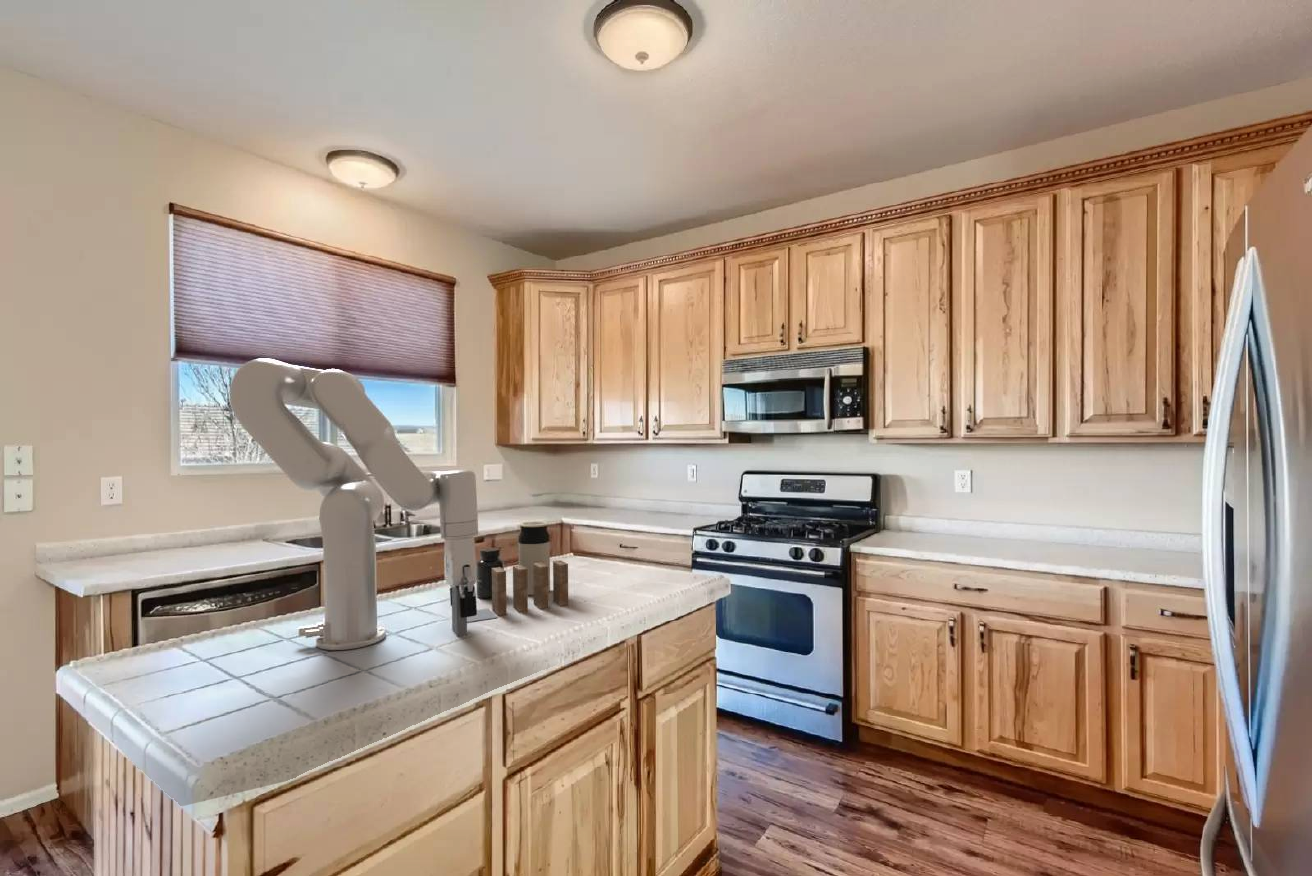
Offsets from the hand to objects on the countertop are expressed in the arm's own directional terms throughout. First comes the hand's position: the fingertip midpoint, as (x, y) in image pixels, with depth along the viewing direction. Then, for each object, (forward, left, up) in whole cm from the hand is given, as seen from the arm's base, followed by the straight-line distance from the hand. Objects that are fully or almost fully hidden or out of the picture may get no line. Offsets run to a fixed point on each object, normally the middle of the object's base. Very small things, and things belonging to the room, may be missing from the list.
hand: (463, 610), depth 131 cm
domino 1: (-1, 0, -5) cm, 5 cm away
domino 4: (+20, +10, -5) cm, 23 cm away
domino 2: (+10, +10, -5) cm, 15 cm away
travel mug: (+23, +24, -5) cm, 34 cm away
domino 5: (+25, +10, -5) cm, 28 cm away
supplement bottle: (+12, +26, -5) cm, 29 cm away
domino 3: (+15, +10, -5) cm, 19 cm away
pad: (+5, +10, -5) cm, 12 cm away
